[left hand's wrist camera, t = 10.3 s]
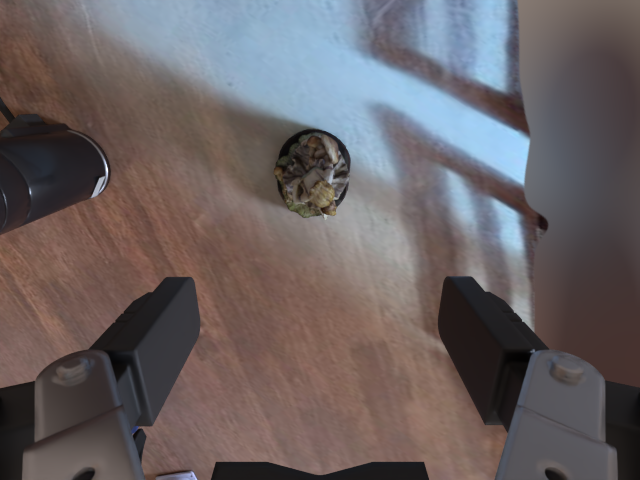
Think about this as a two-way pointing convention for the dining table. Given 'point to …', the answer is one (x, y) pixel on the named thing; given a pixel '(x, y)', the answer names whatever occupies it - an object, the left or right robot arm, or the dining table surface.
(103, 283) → the dining table surface
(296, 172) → the figurine
